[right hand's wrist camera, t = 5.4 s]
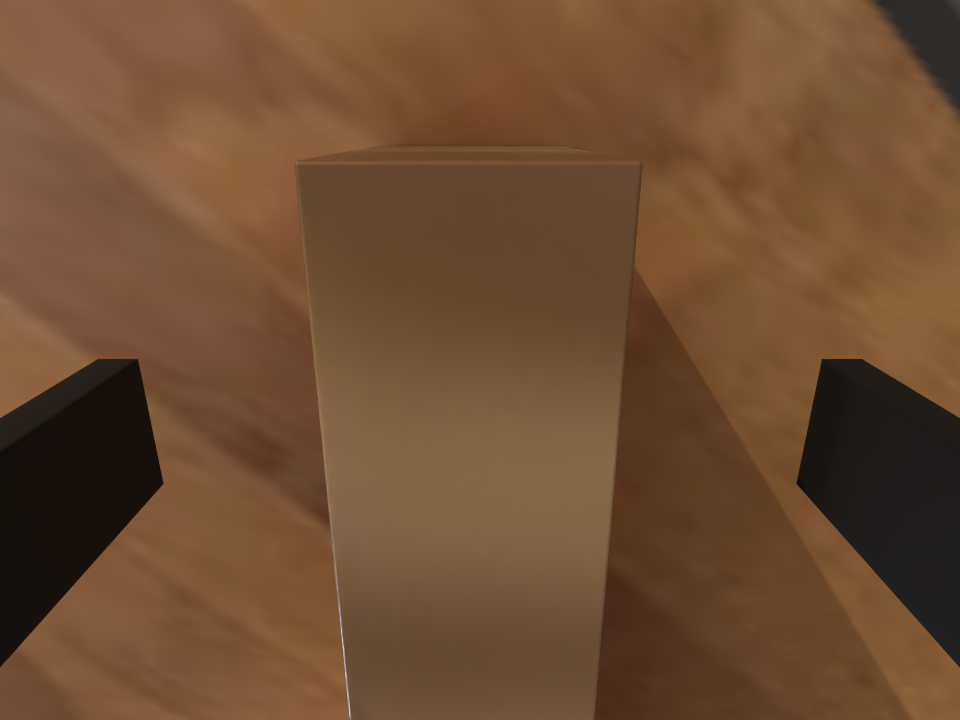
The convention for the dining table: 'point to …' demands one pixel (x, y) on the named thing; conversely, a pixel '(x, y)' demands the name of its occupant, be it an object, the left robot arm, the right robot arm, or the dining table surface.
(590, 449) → the beam
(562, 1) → the dining table surface
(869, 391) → the right robot arm
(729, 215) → the dining table surface
